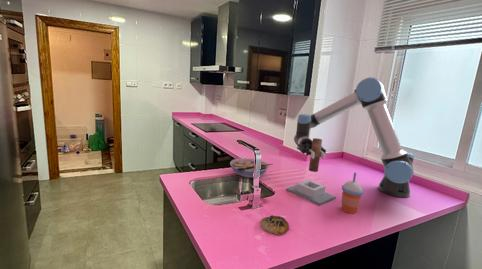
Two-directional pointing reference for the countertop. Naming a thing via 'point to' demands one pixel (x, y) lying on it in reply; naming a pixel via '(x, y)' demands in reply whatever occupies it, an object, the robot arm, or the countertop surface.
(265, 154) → the countertop surface
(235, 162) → the ramen bowl
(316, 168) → the peg
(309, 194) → the socket
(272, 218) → the bread roll
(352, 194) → the cup with straw
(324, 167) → the countertop surface
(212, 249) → the countertop surface
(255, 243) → the countertop surface
